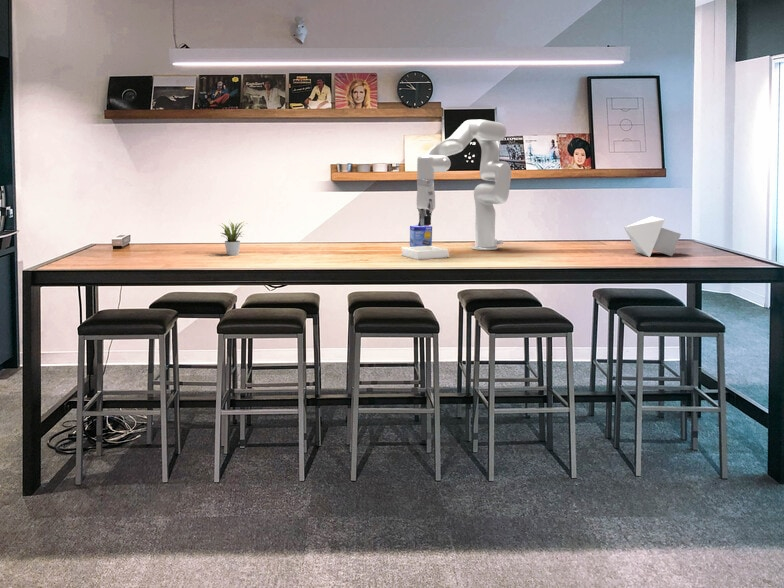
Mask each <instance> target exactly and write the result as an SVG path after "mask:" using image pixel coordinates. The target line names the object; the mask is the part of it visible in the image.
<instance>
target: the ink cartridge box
mask: <svg viewBox="0 0 784 588" xmlns="http://www.w3.org/2000/svg"><path fill="white" fill-rule="evenodd" d="M432 240H433V225H429V226H421V224H419V222H418V224H416V225H409V247H421V246H433V241H432Z"/></svg>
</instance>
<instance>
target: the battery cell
mask: <svg viewBox="0 0 784 588" xmlns="http://www.w3.org/2000/svg"><path fill="white" fill-rule="evenodd" d="M424 216H425V209H423V210H421V226H430V225H424Z"/></svg>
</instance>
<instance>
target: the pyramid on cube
mask: <svg viewBox="0 0 784 588" xmlns="http://www.w3.org/2000/svg"><path fill="white" fill-rule="evenodd" d="M664 223H665V219H664V218H660V217H657V216H656V217H655V216H653V215H651V216H649V217H646V218H644V219H641V220H639V221H636V222H634V223H632V224H629V225H626V226H624V227H623V228H624V230H625V232H626V234H627V236H628V238H629V239H630V241H631V244H632V246H633V247H634V250H635V251H636V253H637V254H640V255H643V256H645V257H647V256H648V258H651V255H652V252H653V251H656V252H659V253H661V254H664V255H667V256H669V257H673V256H674V252H675V250H676V248H677V245H678V242H679V240H680V238H681V235H682V234H681V233H679V232H675V231H673V230H671V229H666V228H663V225H664Z"/></svg>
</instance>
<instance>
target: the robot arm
mask: <svg viewBox="0 0 784 588" xmlns="http://www.w3.org/2000/svg"><path fill="white" fill-rule="evenodd" d="M506 136H507V128H506V126H505V125H504V124H503V123H502V122H497V121H492V120H487V119H482V118H481V119H467V120H465V121H463V123H461V124H460V126H458V127H457V129H455V131H454V132H453V133H452V134H451V135H450V136H449V137H447V138H446V139H443V140H442V141H441V142H439V143H437V144H435V145H433V146H432V147H431V148H430V149H429V150H428V151H427V152H426V153H425V154H424V155H419V156H418V157H417V161H416V163H417V165H416V171H417V173H416V186H417V189H416V190H417V191H416V209H417V210H418V216H419V217H418V218H419V219H418V223H419V224H421V210H423V209H425V216H424V225H429V226H432V214H433V211H434V209H436V194H435V173H444V172H447V171H448V170H449V169H450V167H451V164H452V162H451V160H450V158H449V157H450V156H452V155H453V156H454V155H456V154H459V153H461V152H462V151H464V149H465V148H466V147H467V146H468V145H469V144H470V143H471V142H472V140H474V139H475V140H477V142H478V143H479V146H480V149H481V157H480V165H479V177H480V179H481V180H483V181H487V182H495V183H479V184H478V185H477V186H475V188H474V190H473V198H474V204H475V205H474V206H475V223H474V224H475V225H474V228H475V233H474V245H472V246H471V249H472V250H476V251H477V250H478V251H494V250H498V249H499V247H498V245H504V240H502V239H501V240H497V239H496V209H495V207H494V205H503V204H504V203H506V202H507V201H508V198H509V196H510V195H509V194H510V188H511V187H510V186H511V179H512V169H511V168H512V167H511V166H510V164H509V163H508V162H507V161H504V160H500V147H499V145H498V143H497V142H500V141H503V140H504V139H505V138H506Z"/></svg>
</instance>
